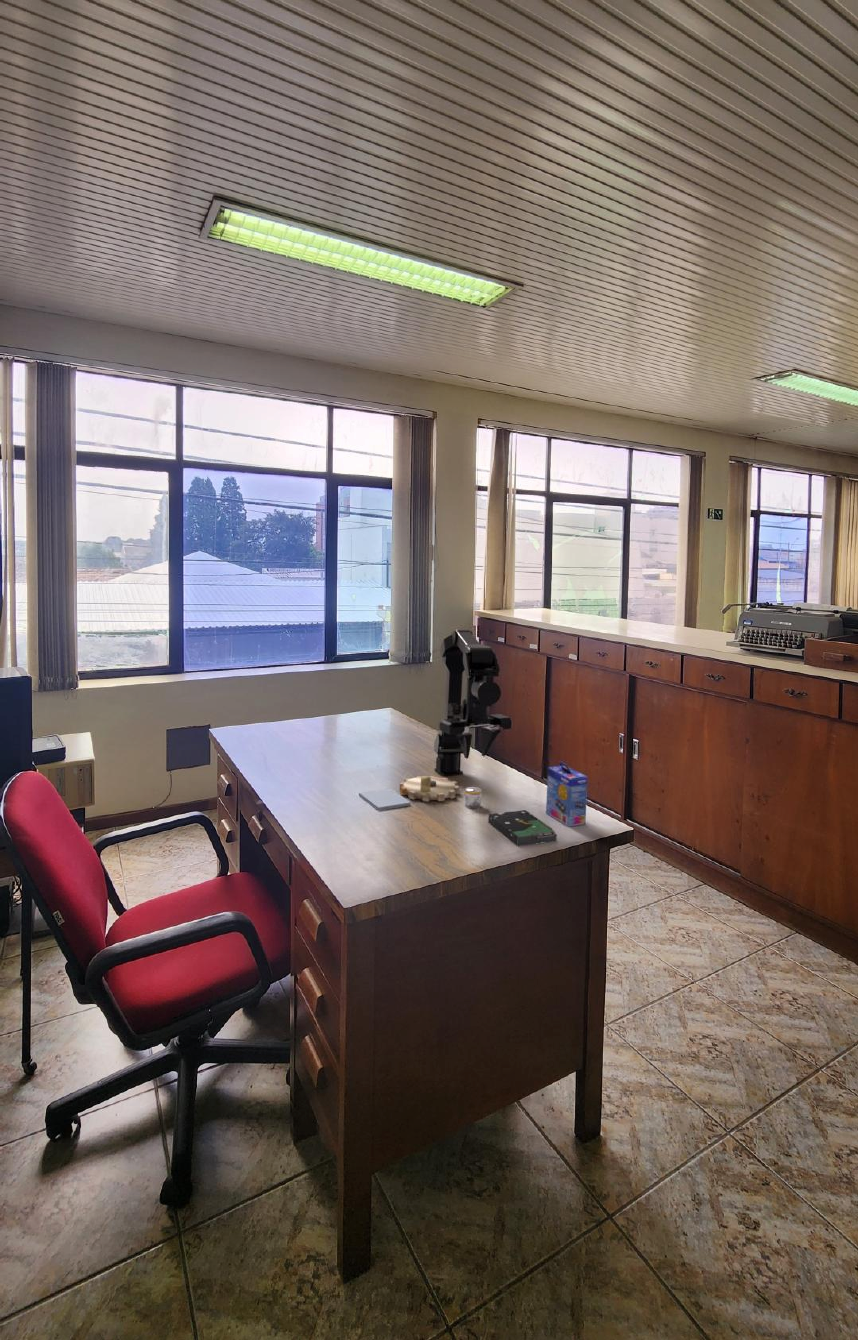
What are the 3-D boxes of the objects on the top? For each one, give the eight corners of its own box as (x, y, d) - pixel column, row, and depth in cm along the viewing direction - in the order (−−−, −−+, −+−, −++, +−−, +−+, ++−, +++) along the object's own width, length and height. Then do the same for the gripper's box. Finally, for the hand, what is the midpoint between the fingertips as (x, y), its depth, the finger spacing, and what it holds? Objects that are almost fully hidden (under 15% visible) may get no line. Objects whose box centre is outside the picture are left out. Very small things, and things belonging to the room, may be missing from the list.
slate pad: (389, 791, 182) (389, 788, 182) (410, 805, 172) (410, 802, 172) (359, 795, 178) (359, 792, 177) (378, 810, 167) (378, 807, 167)
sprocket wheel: (407, 779, 192) (408, 761, 191) (463, 785, 188) (464, 766, 188) (392, 797, 176) (393, 778, 175) (452, 804, 173) (453, 784, 172)
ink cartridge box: (543, 813, 169) (547, 757, 167) (562, 810, 172) (565, 755, 169) (567, 827, 160) (571, 769, 158) (586, 824, 163) (590, 766, 161)
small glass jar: (475, 802, 176) (475, 785, 175) (483, 807, 172) (484, 790, 171) (461, 804, 174) (462, 788, 173) (470, 809, 170) (471, 792, 169)
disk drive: (487, 825, 162) (517, 848, 149) (487, 813, 162) (518, 836, 148) (524, 820, 166) (557, 842, 152) (524, 809, 166) (558, 830, 152)
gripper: (490, 689, 180) (487, 745, 182) (429, 693, 171) (427, 752, 173) (515, 696, 170) (511, 756, 173) (452, 701, 161) (449, 764, 164)
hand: (474, 757), depth 171 cm, fingers open, 5 cm apart
